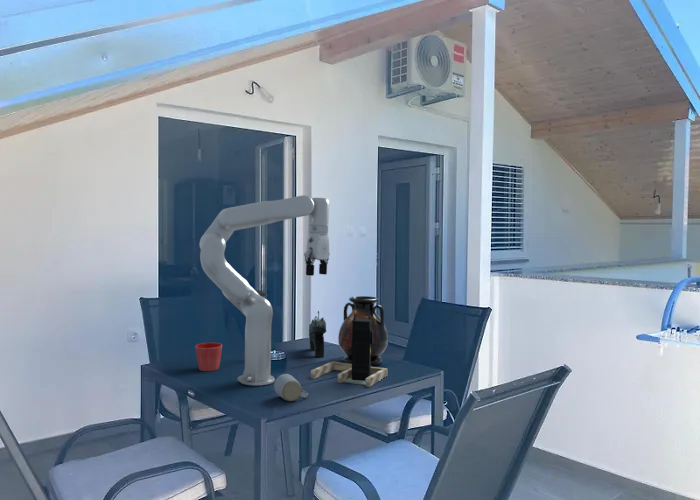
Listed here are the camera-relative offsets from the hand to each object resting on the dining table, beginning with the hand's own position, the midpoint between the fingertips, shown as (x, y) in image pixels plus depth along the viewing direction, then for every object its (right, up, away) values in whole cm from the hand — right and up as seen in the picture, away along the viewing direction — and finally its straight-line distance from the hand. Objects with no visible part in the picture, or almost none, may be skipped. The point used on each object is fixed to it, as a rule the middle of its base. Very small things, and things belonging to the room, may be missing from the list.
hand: (316, 274), depth 218 cm
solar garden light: (-29, -38, +28) cm, 56 cm away
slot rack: (+12, -40, +1) cm, 42 cm away
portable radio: (+17, -40, -1) cm, 44 cm away
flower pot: (-44, -39, +11) cm, 60 cm away
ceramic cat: (-3, -38, +43) cm, 58 cm away
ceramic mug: (-7, -41, -26) cm, 49 cm away
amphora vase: (+18, -39, +27) cm, 51 cm away
